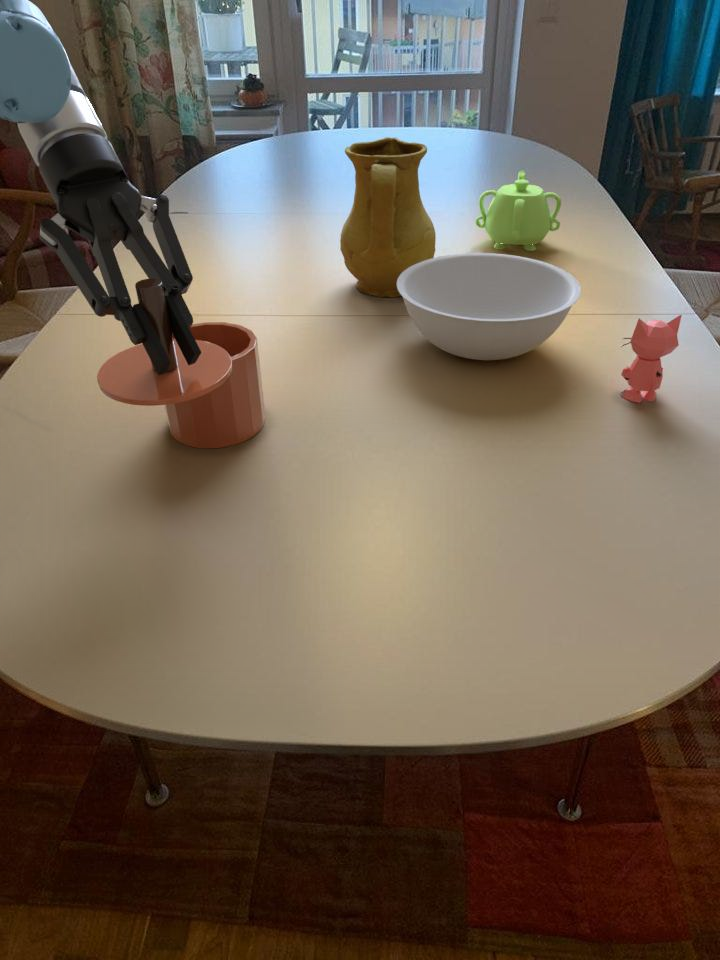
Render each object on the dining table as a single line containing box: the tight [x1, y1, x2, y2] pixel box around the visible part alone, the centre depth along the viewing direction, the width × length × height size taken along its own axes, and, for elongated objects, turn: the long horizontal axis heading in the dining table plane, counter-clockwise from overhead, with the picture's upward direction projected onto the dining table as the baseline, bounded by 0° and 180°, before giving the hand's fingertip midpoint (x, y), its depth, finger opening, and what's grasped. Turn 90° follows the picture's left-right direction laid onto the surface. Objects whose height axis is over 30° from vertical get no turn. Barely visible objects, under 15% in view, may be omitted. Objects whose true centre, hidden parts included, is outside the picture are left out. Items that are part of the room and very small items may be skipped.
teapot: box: [475, 169, 562, 252], centre depth 152 cm, size 16×14×13 cm
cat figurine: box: [620, 313, 682, 404], centre depth 98 cm, size 7×7×12 cm
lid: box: [96, 278, 232, 407], centre depth 73 cm, size 14×14×10 cm
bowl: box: [397, 252, 582, 361], centre depth 113 cm, size 27×27×10 cm
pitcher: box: [339, 136, 437, 298], centre depth 129 cm, size 17×19×25 cm
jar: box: [163, 321, 266, 449], centre depth 95 cm, size 13×13×12 cm
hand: (179, 363), depth 72 cm, fingers closed on lid, 3 cm apart
